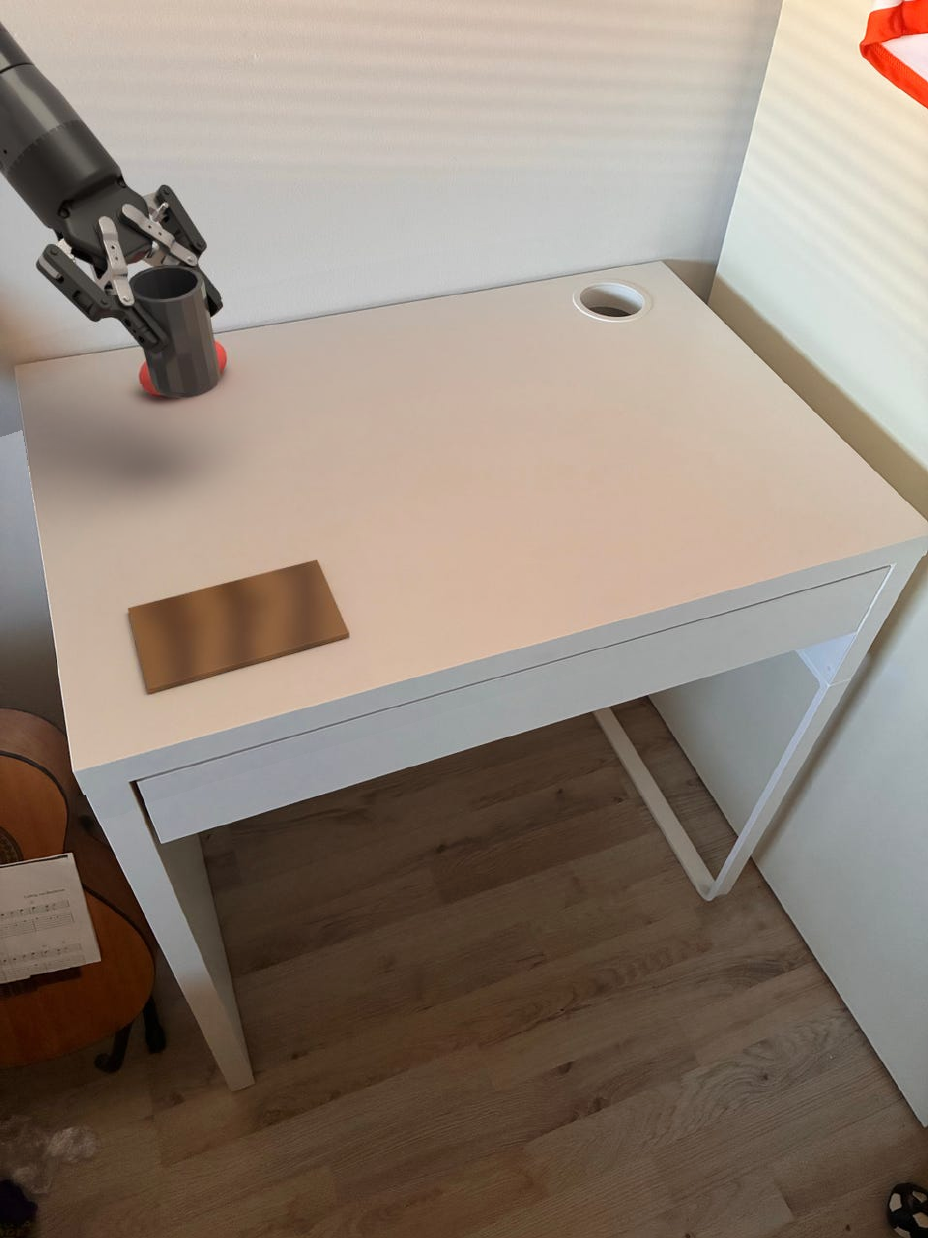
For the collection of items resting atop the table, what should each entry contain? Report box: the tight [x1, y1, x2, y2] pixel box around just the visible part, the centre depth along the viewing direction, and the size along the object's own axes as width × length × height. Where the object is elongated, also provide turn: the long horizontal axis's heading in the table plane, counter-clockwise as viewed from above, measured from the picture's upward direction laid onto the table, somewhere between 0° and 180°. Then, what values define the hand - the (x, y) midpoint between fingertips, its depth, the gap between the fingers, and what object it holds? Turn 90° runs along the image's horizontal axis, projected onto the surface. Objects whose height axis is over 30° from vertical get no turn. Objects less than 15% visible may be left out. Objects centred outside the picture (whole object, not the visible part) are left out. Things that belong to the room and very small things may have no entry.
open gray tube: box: [128, 265, 221, 399], centre depth 80 cm, size 6×6×9 cm
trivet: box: [127, 559, 350, 695], centre depth 77 cm, size 16×9×1 cm, turn 112°
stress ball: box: [138, 339, 228, 396], centre depth 98 cm, size 5×9×6 cm, turn 118°
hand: (190, 329), depth 79 cm, fingers closed on open gray tube, 6 cm apart
